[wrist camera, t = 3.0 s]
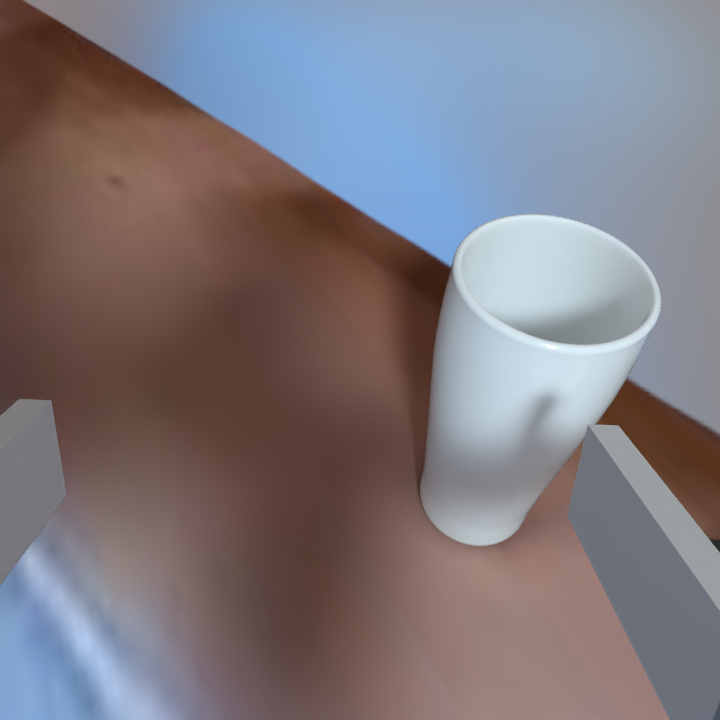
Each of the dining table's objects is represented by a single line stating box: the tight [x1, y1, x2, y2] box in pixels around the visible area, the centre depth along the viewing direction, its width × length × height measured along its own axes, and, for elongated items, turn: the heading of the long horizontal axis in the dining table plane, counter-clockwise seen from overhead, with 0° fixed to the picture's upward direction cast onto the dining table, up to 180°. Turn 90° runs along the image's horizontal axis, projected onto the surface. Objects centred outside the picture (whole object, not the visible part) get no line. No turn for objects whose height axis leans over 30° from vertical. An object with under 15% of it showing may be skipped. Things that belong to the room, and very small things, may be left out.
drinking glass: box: [420, 214, 661, 546], centre depth 25 cm, size 7×7×15 cm
